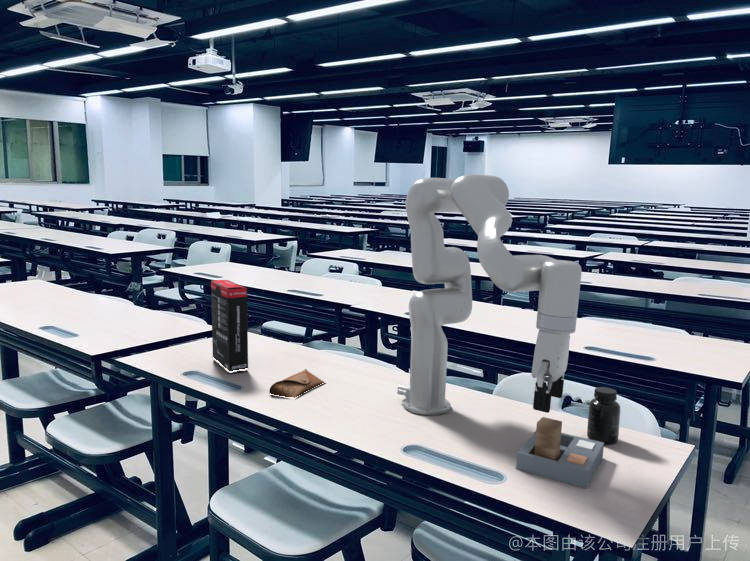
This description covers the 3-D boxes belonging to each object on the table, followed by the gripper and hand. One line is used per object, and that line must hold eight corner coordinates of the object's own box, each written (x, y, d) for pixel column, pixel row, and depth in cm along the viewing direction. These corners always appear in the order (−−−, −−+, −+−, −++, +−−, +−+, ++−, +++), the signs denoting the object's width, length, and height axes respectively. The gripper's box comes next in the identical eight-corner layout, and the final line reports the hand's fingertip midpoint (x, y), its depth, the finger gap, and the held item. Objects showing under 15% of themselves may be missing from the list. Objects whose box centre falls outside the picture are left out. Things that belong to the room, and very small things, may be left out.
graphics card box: (249, 372, 173) (249, 286, 169) (228, 375, 169) (227, 287, 165) (230, 358, 187) (230, 278, 183) (210, 361, 183) (209, 280, 179)
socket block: (515, 468, 114) (517, 451, 113) (538, 441, 127) (539, 426, 127) (587, 488, 107) (588, 470, 106) (602, 458, 120) (604, 441, 120)
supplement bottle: (609, 433, 133) (614, 385, 132) (623, 445, 127) (628, 395, 125) (581, 433, 133) (585, 385, 132) (593, 445, 126) (598, 395, 125)
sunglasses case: (294, 400, 149) (284, 378, 150) (276, 409, 152) (265, 387, 153) (328, 382, 165) (318, 362, 166) (310, 390, 168) (301, 370, 169)
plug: (533, 468, 114) (536, 422, 113) (539, 461, 117) (542, 416, 116) (552, 474, 112) (556, 427, 111) (558, 467, 115) (562, 421, 114)
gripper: (548, 312, 120) (541, 387, 123) (524, 327, 105) (516, 412, 108) (585, 317, 116) (576, 395, 119) (564, 333, 101) (555, 422, 104)
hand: (547, 403), depth 113 cm, fingers open, 9 cm apart
